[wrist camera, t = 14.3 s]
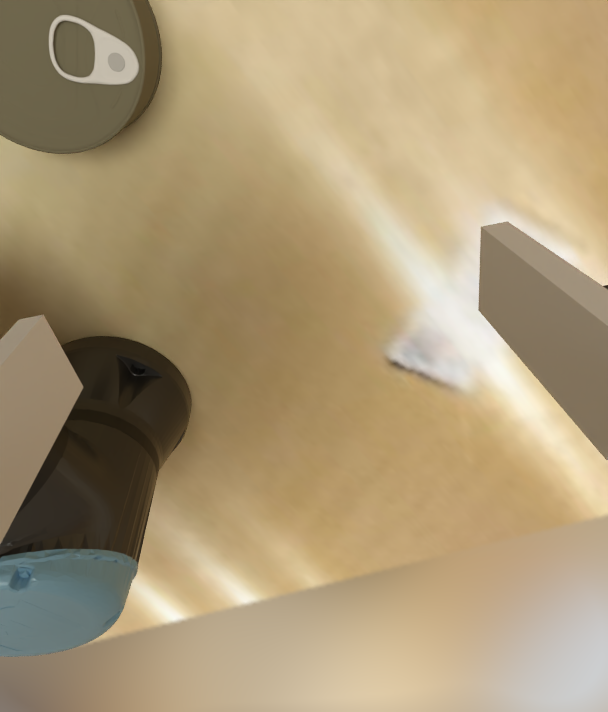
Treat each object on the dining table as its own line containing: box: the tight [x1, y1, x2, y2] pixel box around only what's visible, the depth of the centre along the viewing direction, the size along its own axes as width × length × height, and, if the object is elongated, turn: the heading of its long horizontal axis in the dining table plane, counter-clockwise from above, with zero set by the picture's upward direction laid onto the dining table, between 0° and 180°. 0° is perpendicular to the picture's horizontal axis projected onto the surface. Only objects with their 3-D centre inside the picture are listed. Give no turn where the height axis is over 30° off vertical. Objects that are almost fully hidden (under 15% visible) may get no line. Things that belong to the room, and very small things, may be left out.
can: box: [0, 0, 162, 154], centre depth 29 cm, size 12×12×7 cm
